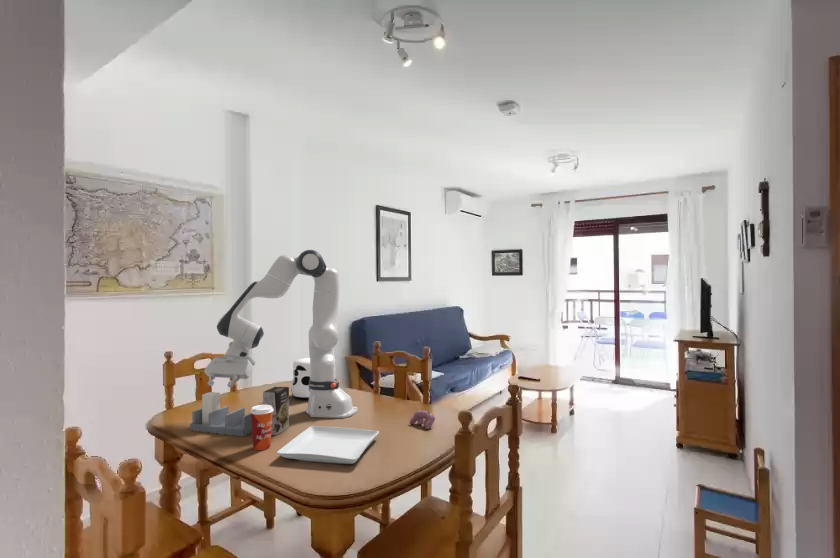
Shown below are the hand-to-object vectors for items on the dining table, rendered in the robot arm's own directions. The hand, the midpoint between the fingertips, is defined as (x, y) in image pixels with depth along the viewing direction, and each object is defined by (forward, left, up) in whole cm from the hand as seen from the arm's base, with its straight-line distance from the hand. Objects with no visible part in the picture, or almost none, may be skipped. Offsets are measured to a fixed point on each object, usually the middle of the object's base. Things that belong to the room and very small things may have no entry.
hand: (219, 385), depth 178 cm
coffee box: (-27, +1, -15) cm, 31 cm away
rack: (-7, +4, -15) cm, 17 cm away
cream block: (0, +4, -14) cm, 15 cm away
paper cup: (-32, +17, -15) cm, 40 cm away
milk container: (-14, -47, -15) cm, 51 cm away
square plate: (-56, +12, -16) cm, 60 cm away
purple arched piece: (-80, -20, -15) cm, 84 cm away
